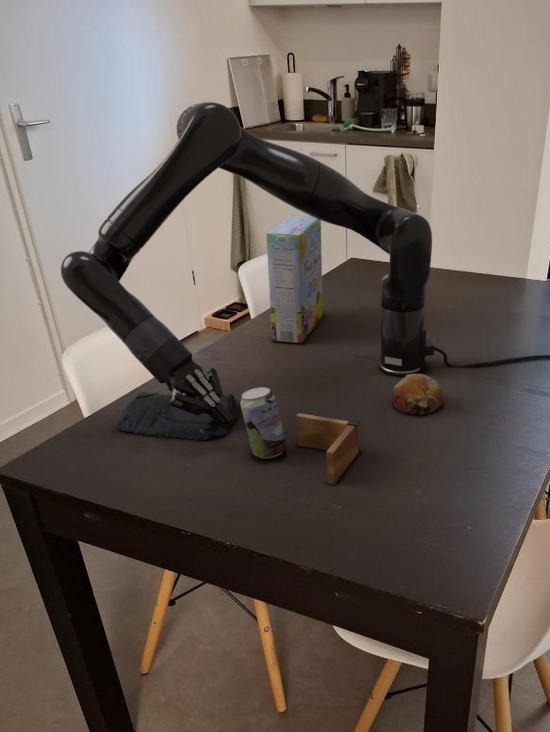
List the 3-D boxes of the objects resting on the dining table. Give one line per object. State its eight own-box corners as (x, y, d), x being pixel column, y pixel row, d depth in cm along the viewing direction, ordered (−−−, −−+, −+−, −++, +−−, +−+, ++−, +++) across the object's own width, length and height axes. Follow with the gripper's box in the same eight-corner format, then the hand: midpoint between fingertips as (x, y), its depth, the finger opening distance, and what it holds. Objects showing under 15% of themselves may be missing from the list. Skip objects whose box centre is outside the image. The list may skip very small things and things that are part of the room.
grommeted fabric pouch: (145, 398, 142) (141, 376, 140) (247, 406, 139) (244, 384, 136) (108, 432, 130) (103, 409, 127) (219, 442, 126) (216, 419, 124)
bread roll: (444, 417, 141) (449, 378, 140) (433, 417, 132) (440, 375, 131) (397, 410, 144) (403, 372, 143) (384, 410, 134) (390, 369, 133)
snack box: (306, 345, 167) (300, 234, 153) (271, 343, 168) (262, 233, 154) (325, 315, 185) (321, 214, 171) (294, 314, 186) (287, 213, 172)
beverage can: (281, 464, 119) (275, 401, 113) (240, 460, 120) (233, 397, 114) (291, 446, 124) (286, 385, 118) (252, 443, 126) (246, 382, 119)
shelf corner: (273, 472, 117) (270, 440, 114) (301, 441, 126) (299, 410, 123) (336, 484, 113) (334, 451, 110) (360, 452, 123) (360, 420, 119)
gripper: (145, 350, 112) (221, 429, 115) (190, 324, 122) (258, 397, 125) (124, 376, 116) (197, 451, 119) (169, 349, 127) (235, 418, 130)
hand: (228, 423), depth 122 cm, fingers closed
